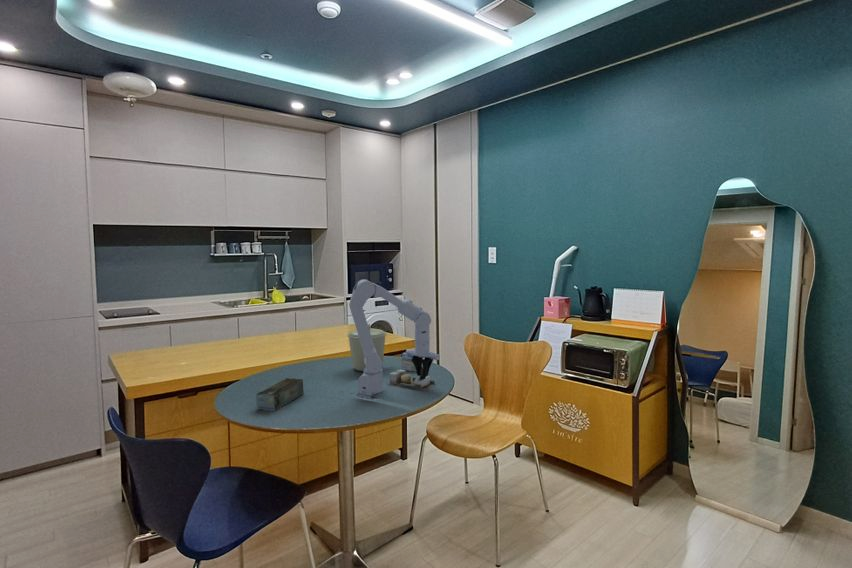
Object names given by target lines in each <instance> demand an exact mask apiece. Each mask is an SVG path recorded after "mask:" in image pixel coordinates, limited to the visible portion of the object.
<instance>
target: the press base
mask: <svg viewBox="0 0 852 568" xmlns="http://www.w3.org/2000/svg"><path fill="white" fill-rule="evenodd" d="M406 371H407V370H402V368H401V369H397V370H394V371H393V372H390V373H389V382H387V383H385V384H386V385H390V386H395V387H399V388H404V389H411V390H416V391H420V392H423V391H425V390H427V389H429V388H431V387H433V386H435V385H436V383H435V382H436V381H435V380H431V384H429V385H427V386H425V387H423V388H422V387H420V386H415V379H417V378H418V377H414V376H413V377H412V379H411V384H404V383H401V375H404V374H407V373H406Z"/></svg>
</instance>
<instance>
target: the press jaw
mask: <svg viewBox="0 0 852 568" xmlns="http://www.w3.org/2000/svg"><path fill="white" fill-rule="evenodd" d="M419 370H420V375H419V377H416V378H417V379H415V386H420V387H422V388H423V387H425V386H427V385H429V384H431V378H432V377H431V376H430V375H428V376H426V377H424V375H423V366H422V367H420V368H419Z"/></svg>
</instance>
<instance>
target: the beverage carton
mask: <svg viewBox="0 0 852 568" xmlns="http://www.w3.org/2000/svg"><path fill="white" fill-rule="evenodd" d="M304 394H305V393H304V381H303V378H302V379H301V378H290V377H289V378H285V379H283V380H281V381H279V382H277V383H275V384H273V385H271V386H269V387H268V388H266V389H264V390H262V391H259V392H257V393H256V394H255V397H256V408H257V409H256V410H258V409H264V410H263V411H267V410H272V411H271V412H276V411H278V410H280V409H281V408H283V407H284V405H285V406H287V405H288V404H290V403H291V402H293V401H294V400H296V399H298V398H300V397H301V396H303V395H304ZM292 400H293V401H292ZM289 402H290V403H289ZM287 403H288V404H287ZM282 406H283V407H282ZM280 407H281V408H280ZM279 408H280V409H279ZM277 409H278V410H277ZM275 410H276V411H275Z"/></svg>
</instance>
